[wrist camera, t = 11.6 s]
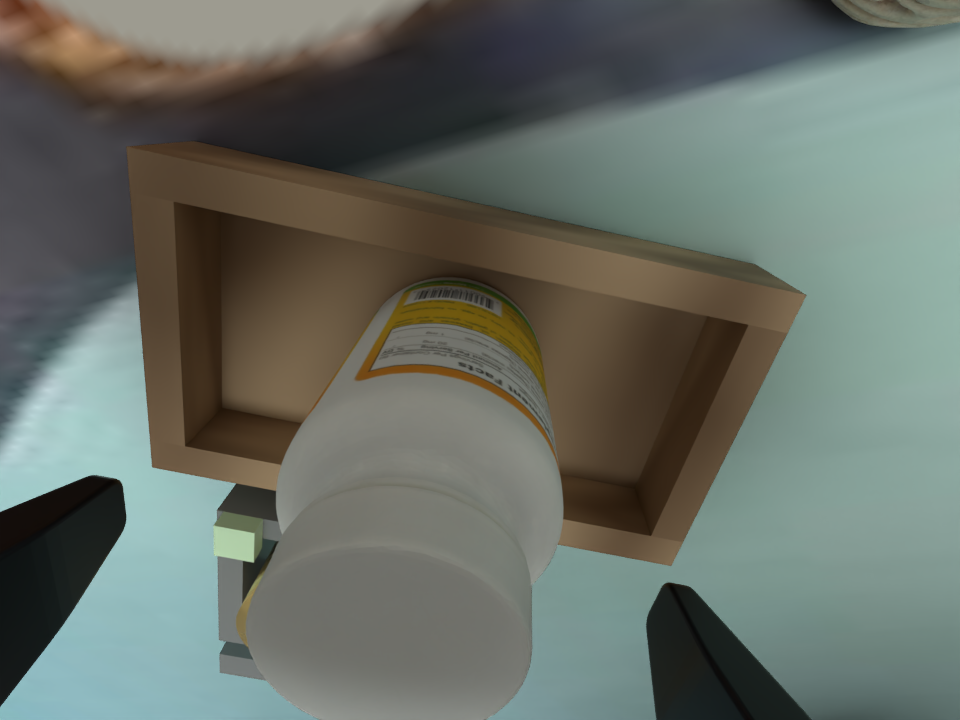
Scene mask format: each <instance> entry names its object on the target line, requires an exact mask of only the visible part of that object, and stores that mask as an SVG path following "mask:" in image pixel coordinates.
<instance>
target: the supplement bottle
mask: <svg viewBox="0 0 960 720" xmlns="http://www.w3.org/2000/svg"><path fill="white" fill-rule="evenodd" d="M276 512H277V517H278V522H279V526H280V530H281V533H282V536H281V538H280V540H279V542H278V544H277V546H276V548H275V551H274V553H273V556H272V558H271V560H270V562H269V564H268V566H267V568H266V570H265V572H264V574H263V576H262V578H261V580H260V582H259V584H258V586H257V588H256V590H255V592H254V595H253V597H252V599H251V602H250V606H249V609H248V613H247V619H246V637H247V642H248V647H249V651H250V654H251V656H252V658H253V660H254V662H255V664H256V666H257V668H258V670H259V671H260V673H261V674H262V676H263V677H264V678H265V679H266V680H267V682H268V683H269V684H270V685H271V686H272V687H273V688H274V689H275V690H276V691H277V692H278V693H279V694H280V695H281V696H283V697H284V698H285V699H286V700H287V701H289V702H290V703H292V704H293V705H294V706H296V707H297V708H299V709H300V710H302V711H304V712H306V713H308V714H310V715H312V716H313V717H315V718H317V719H319V720H485V719H487V718H489V717H490V716H492V715H494V714H496V713H497V712H498V711H499V710H500V709H502V708H503V707H504V706H505V705H506V704H507V703H508V702H509V701H510V700H511V699H512V698H513V697H514V696H515V695H516V693H517V692H518V691H519V689H520V687H521V686H522V684H523V682H524V680H525V678H526V675H527V673H528V670H529V667H530V662H531V655H532V602H531V599H532V585H533V584H534V583H535V582H536V580H537V579H538V578H539V577H540V576H541V574H542V573H543V572H544V570H545V569H546V567H547V566H548V565H549V563H550V561H551V559H552V557H553V555H554V553H555V550H556V547H557V545H558V542H559V539H560V535H561V530H562V524H563V493H562V484H561V477H560V468H559V463H558V458H557V451H556V445H555V439H554V432H553V427H552V421H551V415H550V408H549V402H548V395H547V388H546V381H545V375H544V368H543V361H542V355H541V351H540V347H539V343H538V340H537V337H536V334H535V332H534V330H533V328H532V326H531V324H530V322H529V320H528V318H527V317H526V316H525V314H524V313H523V312H522V310H521V309H520V308H519V307H518V306H517V305H516V304H515V303H514V302H513V301H512V300H510V299H509V298H508V297H506V296H505V295H504V294H502V293H501V292H499V291H497V290H496V289H494V288H492V287H490V286H487V285H485V284H482V283H480V282H477V281H473V280H469V279H464V278H456V277H440V278H433V279H427V280H424V281H420V282H417V283H414V284H412V285H410V286H408V287H406V288H404V289H402V290H400V291H399V292H397V293H396V294H394V295H393V296H392V297H391V298H389V299H388V300H387V301H386V302H385V303H384V304H383V305H382V306H381V307H380V308H379V310H378V311H377V312H376V314H375V315H374V316H373V317H372V319H371V320H370V322H369V323H368V325H367V327H366V328H365V330H364V331H363V333H362V334H361V336H360V337H359V339H358V340H357V342H356V343H355V345H354V346H353V348H352V349H351V351H350V353H349V354H348V356H347V357H346V358H345V360H344V361H343V363H342V364H341V366H340V368H339V369H338V371H337V372H336V373H335V375H334V376H333V378H332V379H331V381H330V382H329V384H328V385H327V387H326V388H325V390H324V391H323V393H322V394H321V396H320V397H319V399H318V400H317V402H316V403H315V405H314V406H313V408H312V409H311V411H310V412H309V414H308V415H307V417H306V418H305V420H304V421H303V423H302V424H301V426H300V428H299V429H298V431H297V433H296V435H295V436H294V438H293V440H292V442H291V444H290V446H289V448H288V450H287V452H286V454H285V456H284V459H283V461H282V464H281V468H280V471H279V475H278V480H277V488H276Z"/></svg>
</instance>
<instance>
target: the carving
mask: <svg viewBox="0 0 960 720" xmlns="http://www.w3.org/2000/svg"><path fill="white" fill-rule="evenodd" d="M831 1H832V2H833V3H834V4H835V5H836V6H837V7H838V8H840V9H841V10H842V11H843V12H844V13H846V14H847V15H848V16H850V17H851V18H852V19H854V20H856V21H859V22H861V23H865V24H868V25H873V26H881V27H894V28H922V27H930V26H938V25H944V24H950V23H957V22H960V0H831Z"/></svg>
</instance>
